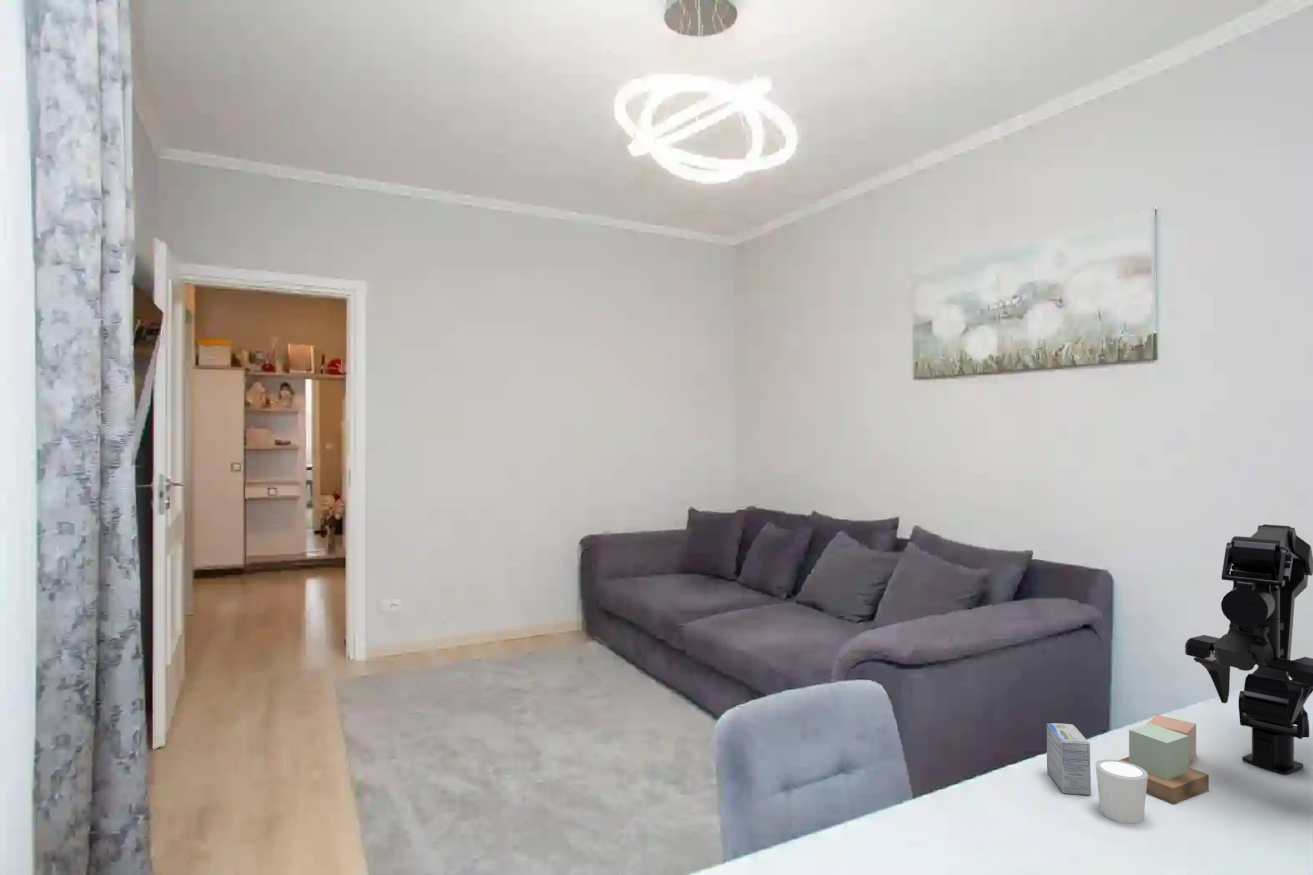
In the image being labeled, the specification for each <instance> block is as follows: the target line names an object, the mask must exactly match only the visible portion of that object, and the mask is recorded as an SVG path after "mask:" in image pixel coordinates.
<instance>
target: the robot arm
mask: <svg viewBox="0 0 1313 875" xmlns="http://www.w3.org/2000/svg"><path fill="white" fill-rule="evenodd" d="M1221 571H1222V572H1221V580H1222V581H1230V582H1232V583H1233V584H1232V589H1231V590H1229V592H1227V593H1225V595H1223V597H1222V600H1221V602H1220V607H1221V608H1220V609H1221V612H1222V614H1223V616H1225V617H1226V619H1227V620H1228V621H1230V622H1229V625H1228V631H1227V633H1226V634H1223V635H1222V636H1220V637H1215V636H1211V635H1206V634H1203V635H1198V636H1194V637H1190V638H1188V639H1187V640H1186V642H1185V644H1184V654H1185V655H1186V656H1190V657H1193V660H1194V662H1196V663H1199V664H1200V665H1201V666H1203V668H1205V669H1206V670H1207V673H1208V674H1209V676H1210V678H1211V680H1212V682H1213V685H1214V687H1215V690H1216V691H1217V695H1218V698H1219V700H1220V702H1221V704H1227V703H1228V701H1229V696H1230V678H1231V676H1230V675H1231V667H1232V668H1236V669H1238V670H1240V671H1243V672H1244V671H1245V672H1247V671H1252V670H1253V669H1254V668H1255V666H1256V665H1257V668H1256V669H1255V670H1254V671H1253V672H1252V673H1248V674H1247V675H1246V677H1245V680H1244V686H1243V690H1240V691H1239V694H1238V713H1239V715H1238V716H1239V725H1240V726H1242V727H1249V728H1251V753H1249V754H1247V755H1244V756H1242V757H1241V760H1242V761H1244V762H1246V763H1250V764H1253V765H1256V766H1258V767H1262V768H1265V769H1267V770H1271V771H1274V772H1276V773H1280V774H1283V775H1288V774H1291V773H1293V772H1295V771H1297V770H1300V769H1302V768H1304V763H1302V762H1299V761H1296V760H1295V738H1297V739H1298V740H1302V739H1303V738H1309V737H1310V721H1309V716H1308V715H1309V713H1308V711H1306V709H1305V707H1304V705H1305V703H1306V702H1307V700H1308V698H1309V697H1310V696H1311V694H1312V693H1313V658H1312V657H1308V656H1303V657H1299V658H1296V659H1291V655H1292V654H1291V653H1292V639H1293V630H1294V629H1293V628H1294V615H1295V602H1296V601H1295V600H1296V598H1297V597H1298V596H1299V595H1300V594H1301V593H1302V592H1304V591H1305V590H1306V589H1307V587H1308V581H1309V576H1313V551H1312V546H1311V545H1310V544H1309V543H1307V542H1306V541H1305V540H1303V539H1302V538H1301V537H1299V536H1298V535H1297V531H1296V528H1295V527H1291V526H1290V525H1282V524H1281V525H1279V524H1278V525H1276V524H1262V525H1260V524H1259V525H1258V527H1257V530H1256V532H1255V533H1253V534H1252V535H1251V536H1239V535H1235V536H1233V537H1232V538H1231V541H1230V542H1228V541H1227V543H1226V545H1225V551H1224V558H1223V564H1222V570H1221Z"/></svg>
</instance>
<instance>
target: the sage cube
mask: <svg viewBox="0 0 1313 875" xmlns="http://www.w3.org/2000/svg"><path fill="white" fill-rule="evenodd" d="M1128 742H1129V743H1128V757H1129V763H1131V764H1134V765H1136V766H1139V767H1141V768H1143V769H1144V770H1145V771H1146V772H1147V773H1150V774H1152V775H1155V776H1157V777H1160V778H1162V779H1165V780H1170V779H1172V778H1175V777H1178V776H1180V775H1183V774H1186V773H1188V772H1189V768H1190V767H1189V765H1190V764H1189V736H1187V735H1184V734H1181V733H1178V732H1175V731H1172V730H1169V729H1166V728H1163V727H1160V726H1157V725H1154V724H1151V723H1149V724H1147V723H1146V724H1144V725H1141V726H1137V727H1134V728H1131V729H1129V730H1128Z"/></svg>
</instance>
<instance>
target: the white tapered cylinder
mask: <svg viewBox="0 0 1313 875" xmlns="http://www.w3.org/2000/svg"><path fill="white" fill-rule="evenodd" d="M1119 760H1120V759H1119ZM1119 760H1118V759H1101V760H1098V761H1097V762H1095V771H1096V781H1097V782H1096V783H1097V789H1098V790H1097V791H1098V792H1097V793H1098V800H1099V802H1098V803H1099V810H1100V813H1102V815H1103V816H1105V817H1107V818H1108V819H1110V820H1113V821H1115V822H1119V823H1124V824H1132V825H1134V824H1136V825H1137V824H1140V823H1142V822H1143V821H1144V816H1145V806H1146V796H1147V793H1146V789H1147V779H1148V774H1147V772H1146V771H1145V770H1144V769H1143V768H1141V767H1139V766H1136V765H1134V764H1131V763H1128V762H1124V761H1119Z"/></svg>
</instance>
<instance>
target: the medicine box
mask: <svg viewBox="0 0 1313 875" xmlns="http://www.w3.org/2000/svg"><path fill="white" fill-rule="evenodd" d="M1046 769H1047V770H1046V771H1047V773H1048V775H1049V776H1050V777H1051V779H1052V780H1053V782H1054V783H1055V784H1056V786H1057V787H1058V788H1059V789H1060V791H1061V793H1062V794H1069V795H1080V796H1081V795H1083V796H1084V795H1085V796H1090V795H1091V794H1092V788H1091V787H1092V785H1091V782H1092V781H1091V779H1092V776H1091V743H1090V742H1089V741H1088V740H1087V738H1086V737H1084V735H1083V734H1082V733H1081V732H1080V731H1079V729H1078V728H1077V727H1076V726H1075V725H1074V724H1070V723H1059V722H1058V723H1057V722H1053V723H1052V722H1051V723H1049V722H1047V723H1046Z"/></svg>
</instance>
